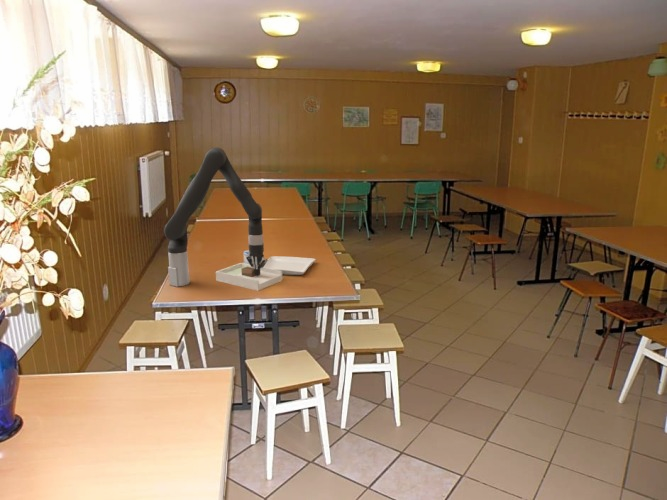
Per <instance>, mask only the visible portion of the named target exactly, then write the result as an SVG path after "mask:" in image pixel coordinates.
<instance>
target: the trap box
mask: <svg viewBox="0 0 667 500" xmlns="http://www.w3.org/2000/svg"><path fill="white" fill-rule="evenodd" d="M245 267H251V265H250V264H245V263H244V262H239V263H236V264H234V265H230V266H228V267H225V268H222V269H219V270H216V271H215V281H216V282H220V283H225V284H228V285H233V286H236V287H241V288H245V289H250V290H253V291H257V292H259V291H261V290H264V289H265V288H268V287H270V286H273V285H275V284H277V283H280V282H282V281H283V279H284V278H283V274H282V271H279V270H274V269H269V268H264V267H263V268H260V275H259V276H254V277H248V276H244V275H242V270H241V269H242V268H245ZM252 268H253V267H252Z"/></svg>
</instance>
